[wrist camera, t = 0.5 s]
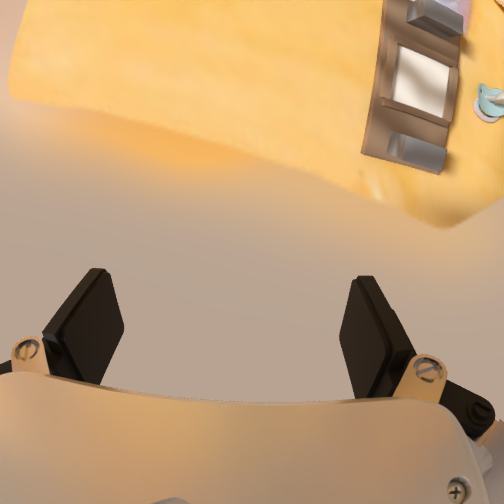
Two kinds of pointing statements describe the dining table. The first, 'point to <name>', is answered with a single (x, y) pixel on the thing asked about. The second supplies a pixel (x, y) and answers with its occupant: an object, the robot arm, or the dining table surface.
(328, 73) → the dining table surface
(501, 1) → the lidded jar
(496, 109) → the pacifier
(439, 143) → the brown tray
